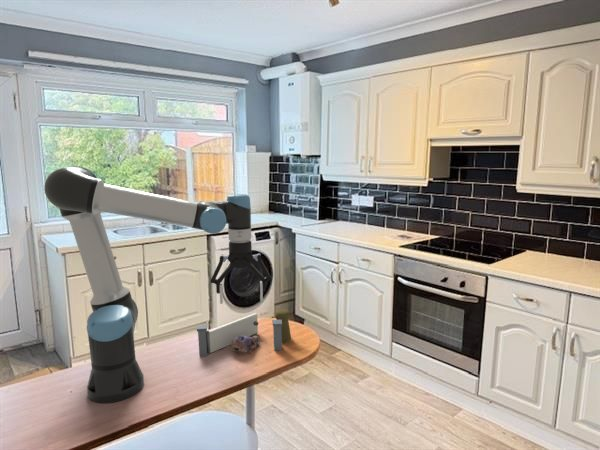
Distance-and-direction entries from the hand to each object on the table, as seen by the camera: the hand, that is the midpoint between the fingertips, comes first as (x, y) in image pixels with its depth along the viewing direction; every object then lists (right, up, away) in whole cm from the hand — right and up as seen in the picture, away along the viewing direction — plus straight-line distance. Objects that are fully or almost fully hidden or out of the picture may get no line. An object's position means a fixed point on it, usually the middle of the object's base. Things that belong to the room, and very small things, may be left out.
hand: (241, 301), depth 144 cm
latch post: (+12, -17, +2) cm, 21 cm away
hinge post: (-13, -18, -1) cm, 22 cm away
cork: (+14, -16, +10) cm, 23 cm away
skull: (+2, -17, +2) cm, 18 cm away
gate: (-3, -16, +7) cm, 18 cm away
